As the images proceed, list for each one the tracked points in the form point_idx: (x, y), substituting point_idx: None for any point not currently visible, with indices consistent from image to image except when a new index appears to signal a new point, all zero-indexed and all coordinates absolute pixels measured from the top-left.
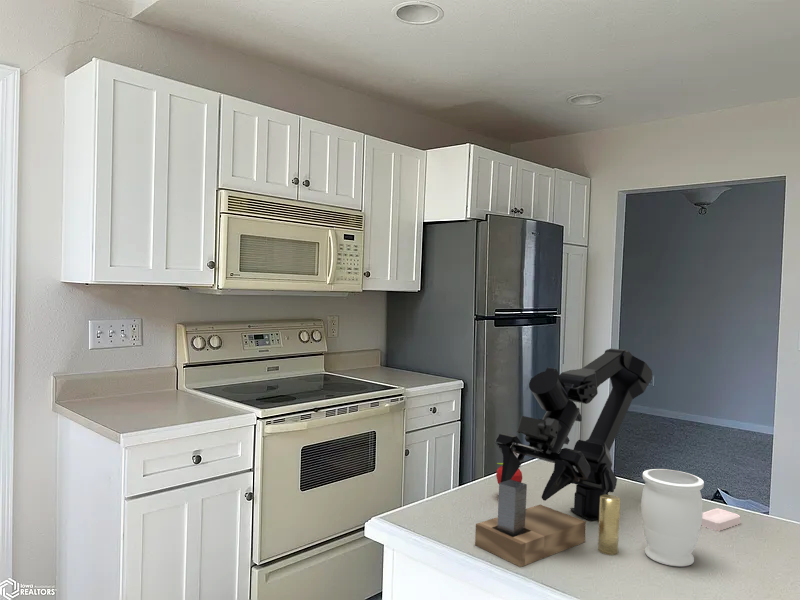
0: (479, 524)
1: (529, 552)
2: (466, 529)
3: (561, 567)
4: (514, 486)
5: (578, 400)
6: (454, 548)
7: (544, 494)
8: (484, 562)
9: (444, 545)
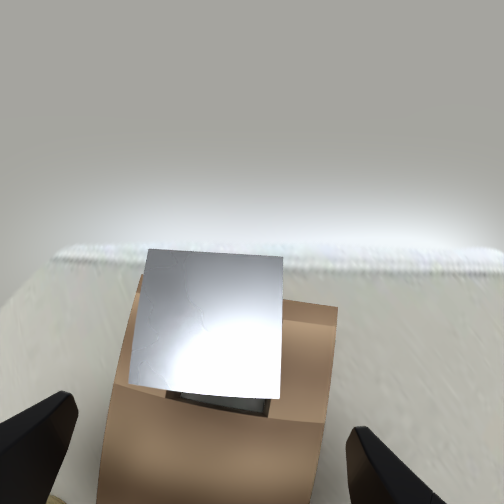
0: (327, 312)
1: None
2: (400, 389)
3: (85, 365)
4: (168, 271)
5: None
6: (340, 268)
7: (50, 397)
8: None
9: (366, 264)
